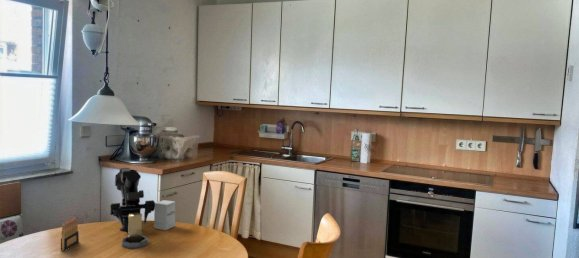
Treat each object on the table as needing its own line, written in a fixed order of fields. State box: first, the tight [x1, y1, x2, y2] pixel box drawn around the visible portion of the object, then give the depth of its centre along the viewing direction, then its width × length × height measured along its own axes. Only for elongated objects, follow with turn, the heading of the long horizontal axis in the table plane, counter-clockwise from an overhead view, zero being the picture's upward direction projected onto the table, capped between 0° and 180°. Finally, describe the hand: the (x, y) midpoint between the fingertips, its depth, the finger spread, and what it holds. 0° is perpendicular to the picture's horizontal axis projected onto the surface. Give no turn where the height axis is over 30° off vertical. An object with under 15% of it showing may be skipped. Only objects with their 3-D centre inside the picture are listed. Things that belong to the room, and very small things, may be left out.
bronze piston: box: [127, 212, 143, 243], centre depth 186 cm, size 6×6×12 cm
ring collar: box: [121, 235, 149, 250], centre depth 186 cm, size 11×11×2 cm
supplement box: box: [153, 199, 176, 231], centre depth 210 cm, size 7×7×13 cm
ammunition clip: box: [60, 215, 80, 251], centre depth 181 cm, size 11×2×12 cm, turn 178°
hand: (134, 224), depth 188 cm, fingers open, 9 cm apart
